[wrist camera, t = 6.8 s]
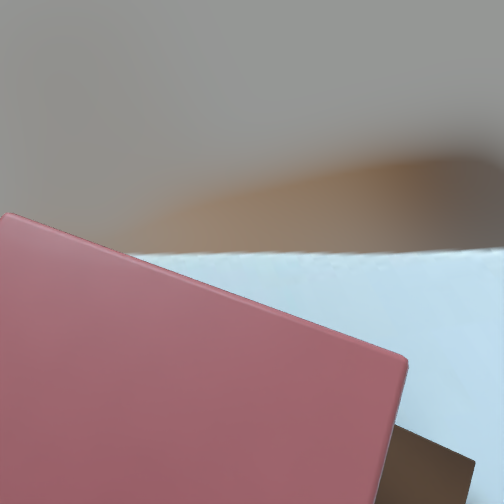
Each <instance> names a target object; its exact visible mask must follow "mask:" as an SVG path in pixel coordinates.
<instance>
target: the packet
mask: <svg viewBox="0 0 504 504" xmlns="http://www.w3.org/2000/svg"><path fill="white" fill-rule="evenodd" d="M408 369H409V365H408V360H407V359H406V358H405V357H404V356H402V355H400V354H398V353H395V352H392V351H389V350H387V349H384V348H381V347H378V346H376V345H373V344H370V343H367V342H365V341H362V340H359V339H356V338H354V337H351V336H348V335H346V334H343V333H340V332H337V331H335V330H332V329H329V328H326V327H324V326H321V325H318V324H315V323H313V322H310V321H307V320H304V319H302V318H299V317H296V316H293V315H291V314H288V313H285V312H283V311H280V310H277V309H274V308H272V307H269V306H266V305H263V304H261V303H258V302H255V301H252V300H250V299H247V298H244V297H241V296H239V295H236V294H233V293H230V292H228V291H225V290H222V289H220V288H217V287H214V286H211V285H209V284H206V283H203V282H200V281H198V280H195V279H192V278H189V277H187V276H184V275H181V274H178V273H176V272H173V271H170V270H167V269H165V268H162V267H159V266H157V265H154V264H151V263H148V262H146V261H143V260H140V259H137V258H135V257H132V256H129V255H126V254H124V253H121V252H118V251H115V250H112V249H110V248H107V247H104V246H102V245H99V244H96V243H93V242H91V241H88V240H85V239H83V238H80V237H77V236H74V235H71V234H68V233H66V232H63V231H60V230H58V229H55V228H52V227H50V226H47V225H44V224H41V223H39V222H36V221H33V220H30V219H28V218H25V217H22V216H20V215H17V214H14V213H5V214H4V215H3V216H2V217H1V218H0V504H374V503H375V499H376V495H377V491H378V487H379V483H380V479H381V475H382V471H383V467H384V463H385V460H386V456H387V452H388V448H389V444H390V440H391V436H392V432H393V428H394V424H395V420H396V416H397V412H398V408H399V404H400V400H401V396H402V392H403V388H404V384H405V380H406V377H407V373H408Z"/></svg>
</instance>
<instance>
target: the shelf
mask: <svg viewBox="0 0 504 504" xmlns="http://www.w3.org/2000/svg"><path fill="white" fill-rule="evenodd" d="M474 467H475V461H474V460H472V459H470V458H467V457H465V456H463V455H461V454H459V453H457V452H454V451H452V450H450V449H448V448H446V447H443V446H441V445H439V444H437V443H435V442H432V441H430V440H428V439H426V438H424V437H422V436H419V435H417V434H415V433H413V432H411V431H408V430H406V429H404V428H402V427H400V426H397V425H395V424H394V428H393V432H392V436H391V440H390V444H389V448H388V452H387V456H386V460H385V463H384V467H383V471H382V475H381V479H380V483H379V487H378V491H377V495H376V499H375V503H374V504H465V503H466V499H467V495H468V491H469V487H470V483H471V479H472V475H473V471H474Z"/></svg>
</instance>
